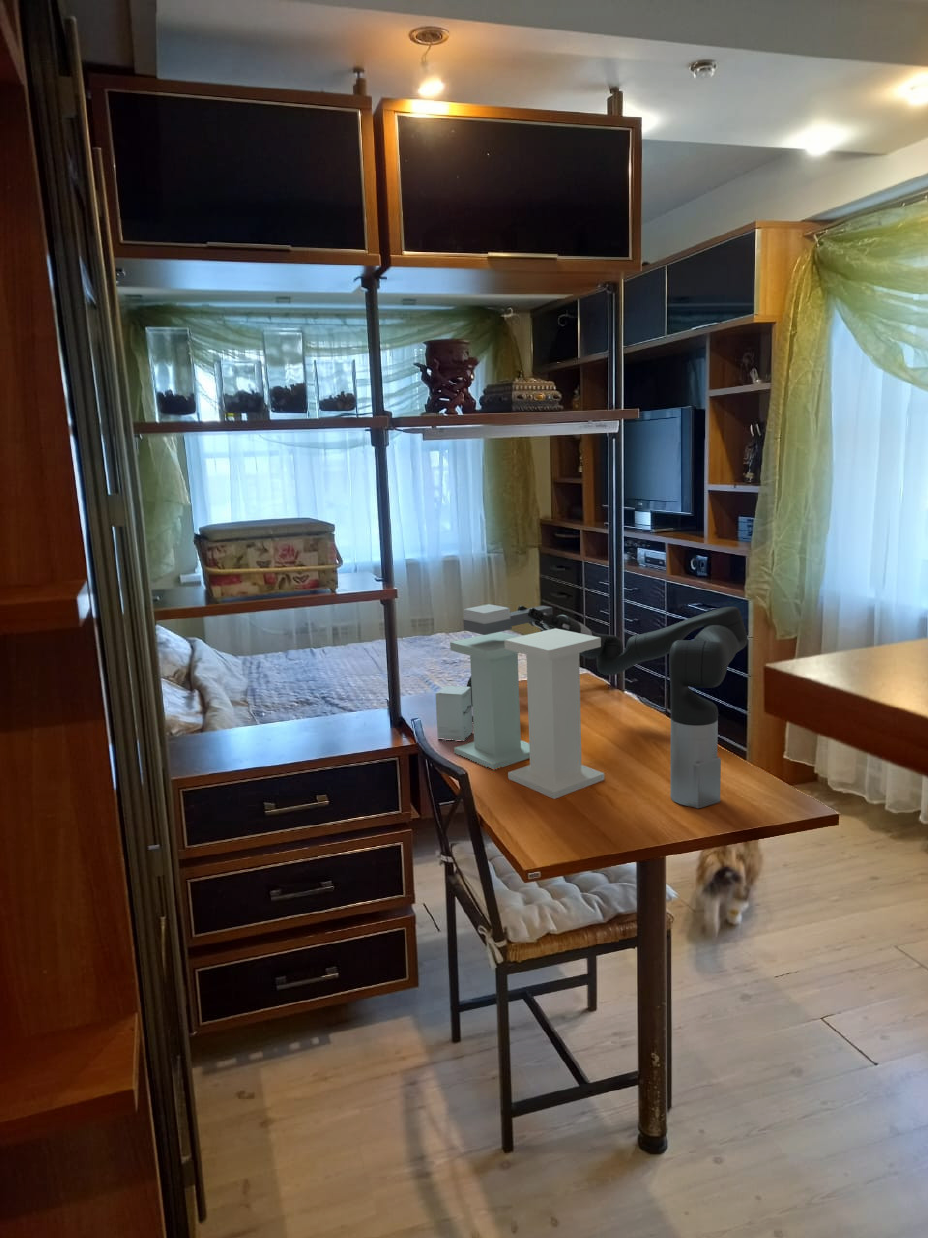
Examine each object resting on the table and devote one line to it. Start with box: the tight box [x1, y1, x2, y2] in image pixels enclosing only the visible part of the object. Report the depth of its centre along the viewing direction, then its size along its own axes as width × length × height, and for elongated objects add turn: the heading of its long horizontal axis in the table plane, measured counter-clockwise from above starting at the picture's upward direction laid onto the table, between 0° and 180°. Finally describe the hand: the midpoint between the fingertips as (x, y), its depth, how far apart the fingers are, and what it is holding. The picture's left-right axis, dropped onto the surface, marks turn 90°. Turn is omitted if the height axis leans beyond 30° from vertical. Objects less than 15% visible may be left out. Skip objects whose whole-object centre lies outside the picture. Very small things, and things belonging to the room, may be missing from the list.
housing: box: [462, 603, 554, 635], centre depth 202 cm, size 23×8×5 cm, turn 127°
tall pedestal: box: [504, 628, 605, 800], centre depth 184 cm, size 15×15×32 cm
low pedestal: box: [449, 631, 530, 770], centre depth 202 cm, size 15×15×28 cm
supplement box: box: [434, 685, 474, 741], centre depth 217 cm, size 7×7×13 cm
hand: (524, 610), depth 204 cm, fingers closed on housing, 3 cm apart
